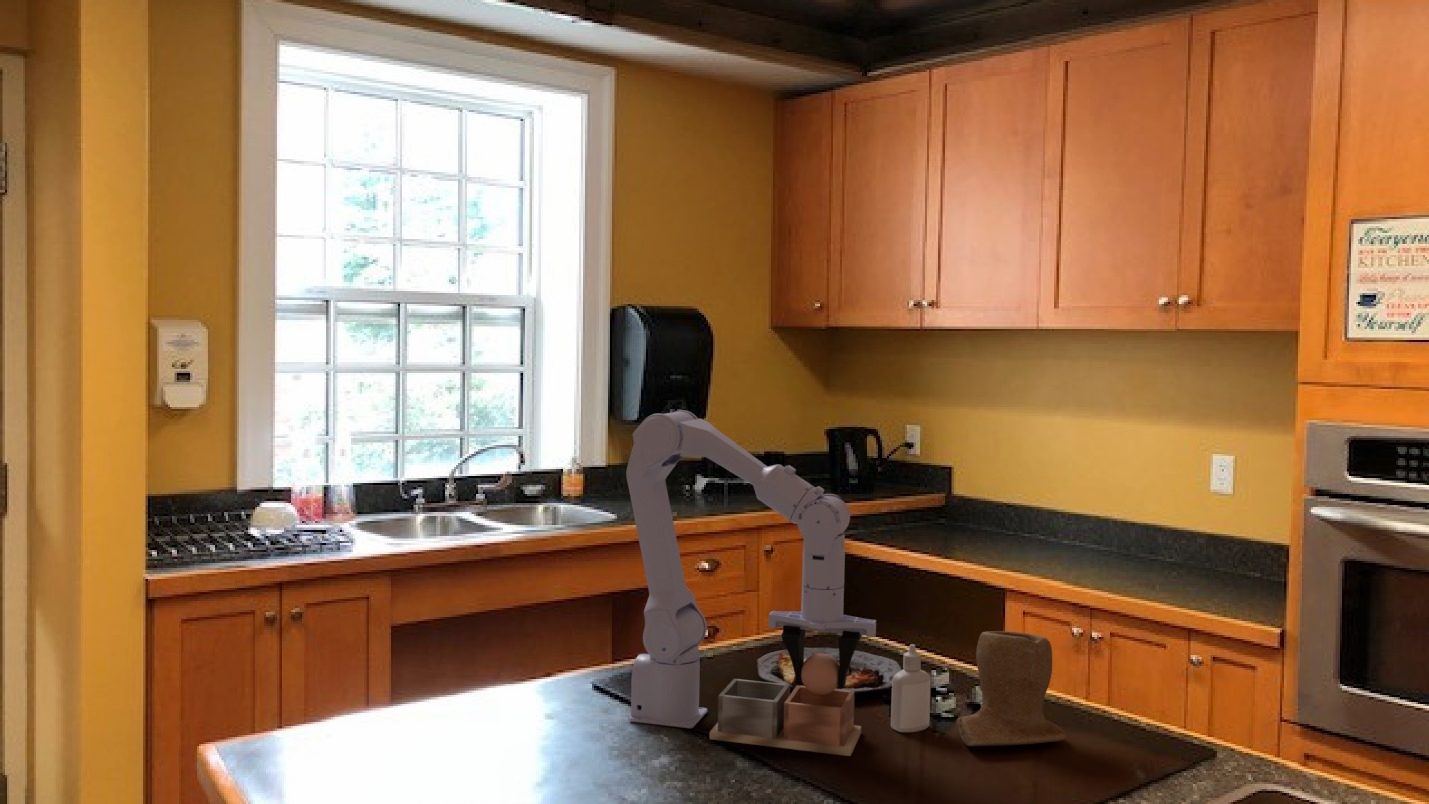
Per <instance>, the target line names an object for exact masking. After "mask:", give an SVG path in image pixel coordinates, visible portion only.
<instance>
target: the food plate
mask: <svg viewBox="0 0 1429 804" xmlns="http://www.w3.org/2000/svg"><path fill="white" fill-rule="evenodd" d="M819 653H822V654H827V655H829V656H831V657H833V658H834V659H835V660H836V661H837V663H838V664H839V647H837V648H835V647H822V646H821V647H804V662H805V660H806V659H807V658H809V657H810V656H812V655H814V654H819ZM756 663H757V664H756V665H757V674H758V676H759V678H760V679H762V680H763V681H764V682H771V683H780V684H790V690H794V689H795V687H796V686H797V685H799V686H804V684H803V682H801V683H796V679H795V673H794V668H793V664H792V661H791V658H790V655H789V653H788V650H787V649H783V650H777V651H774V652H770V653H766V654H764V655H763V656H761V657H760V658H758V659H757V660H756ZM851 668H854V669H855V670H856V669H860V671H859V672H857V671H853V670H852V671H851V672H850V669H851ZM901 670H902V668H901V666H900V664H899V663H898V661H897V660H896V661H895V660H894V659H892V658H891V659H890V658H889V657H885V656H880V655H876V654H872V653H869V652H865V651H860V650H856V649H855V651H854V654H853V656H852V659H851V662H850V665H849V668H848V672H847V677H846V684H845V686H844V687H843V688H839V687H838V686H837V687H836V689H837V690H847V691H855V694H856V693H857V694H860V693H861V694H862V693H868V692H873V691H877V690H878V691H886V690H888V689H892V688H891V687H892V680H893V677H894V675H895V674H897V673H898V672H899V671H901Z"/></svg>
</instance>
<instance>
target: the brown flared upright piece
mask: <svg viewBox="0 0 1429 804" xmlns="http://www.w3.org/2000/svg"><path fill="white" fill-rule="evenodd" d="M975 658H976V665H977V671H978V676H979V681H980V682H979V683H980V688H981V697H982V698H981V699H982V703H981V706H980V709H979V710H978V711H977V712H975V713H973V714H970V715H963V716H960V717H958V718H957V719H956V721H955V723H956V726H957V728H958V732H959V735H960V738H961V740H962V741H963V743H964V744H965V746H968V747H997V746H998V747H999V746H1001V747H1003V746H1017V745H1018V746H1020V745H1035V744H1045V743H1053V742H1059V741H1063V740H1064V739H1066V733H1065V732H1064V731H1063V730H1062V729H1061V728H1060V727H1059V726H1057V725H1056V724H1055V723H1053V722H1051V721H1050V720H1048V719H1046V717H1045V716H1044V714H1043V706H1044V701H1045V697H1046V694H1047V691H1048V689H1049V685H1050V682H1051V678H1052V673H1053V649H1052V644H1051V641H1049V639H1048V638H1046V637H1045V636H1041V635H1038V634H1034V633H1033V634H1032V633H1028V632H1027V633H1026V632H1020V631H1019V632H1017V631H1004V630H1003V631H1002V630H1001V631H1000V630H999V631H998V630H997V631H996V630H995V631H994V630H993V631H988V630H987V631H983V632H981V633H980V635H979V638H978V642H977V645H976V653H975Z"/></svg>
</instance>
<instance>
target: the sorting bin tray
mask: <svg viewBox="0 0 1429 804" xmlns="http://www.w3.org/2000/svg"><path fill="white" fill-rule="evenodd" d="M855 694H856V693H855V691H847V690H837V689H835V690H833V691H832V692H830V693H828V694H824V695H818V694H814V693H812V692H810V691H809V690H808V689H807V688H806V687H805V686H799V685H797V686H796V687H795V689H792V692H791V688H790V684H780V683H771V682H767V681H762V680H761V681H760V680H751V679H750V680H749V679H740V678H733V679H732V680H731V682H730V683H729V684H727V686H726V687H725V688H724V689H723V690H722V691H721V692H720V693H719V695H718V697H717V698H718V702H717V703H718V704H717V705H718V706H717V722H716V724H715V725H714V726H713V727H712V729H711V730H710V731H709V740H713V741H714V740H715V741H722V742H729V743H730V742H732V743H738V744H739V743H740V744H746V745H747V744H748V745H754V746H755V745H756V746H761V747H762V746H764V747H771V748H781V749H786V750H787V749H788V750H789V749H790V750H797V751H803V752H805V751H806V752H812V753H821V754H830V755H839V756H846V757H851V756H852V754H853V753H854V749H855V747H856V745H857V743H858V740H859V739H860V736H861V734H862V726H861V725H855V724H854V723H855Z"/></svg>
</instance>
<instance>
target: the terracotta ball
mask: <svg viewBox="0 0 1429 804" xmlns="http://www.w3.org/2000/svg"><path fill="white" fill-rule="evenodd" d="M838 675H839V664H838V663H837V661H836V660H835V659H834V658H833V657H831V656H829V655H827V654H822V653H819V654H814V655H812V656H810V657H809V658H807V659H806V660H805V662H804V663H803V665H802V668H801V679H802V682H803V684H804V686H805V687H806V688H807V689H808V690H809V691H810V692H812V693H814V694H818V695H824V694H828V693H830V692H832V691H833V690H835V689H836V687H837V686H838Z"/></svg>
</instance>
